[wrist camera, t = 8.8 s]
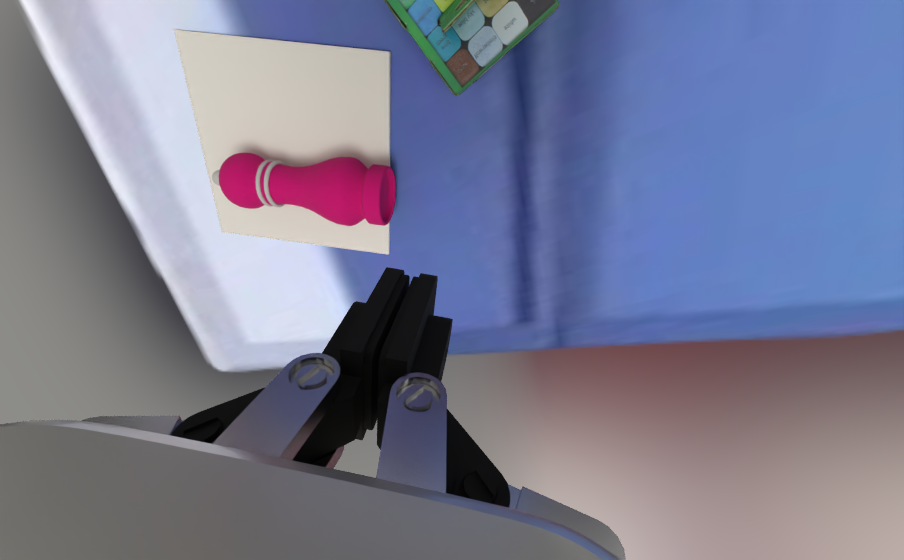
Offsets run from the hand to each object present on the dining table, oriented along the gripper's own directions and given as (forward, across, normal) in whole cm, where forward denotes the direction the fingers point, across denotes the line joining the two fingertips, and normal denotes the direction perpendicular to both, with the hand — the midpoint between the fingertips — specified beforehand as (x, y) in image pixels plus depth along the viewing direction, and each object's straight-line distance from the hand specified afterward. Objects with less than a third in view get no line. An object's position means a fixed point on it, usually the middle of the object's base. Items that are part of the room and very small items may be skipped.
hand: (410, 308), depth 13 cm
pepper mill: (+28, +8, +8) cm, 30 cm away
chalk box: (+33, +2, -10) cm, 34 cm away
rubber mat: (+32, +21, +6) cm, 38 cm away
